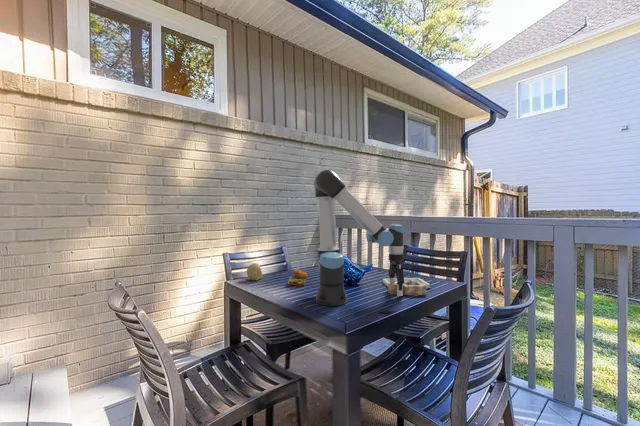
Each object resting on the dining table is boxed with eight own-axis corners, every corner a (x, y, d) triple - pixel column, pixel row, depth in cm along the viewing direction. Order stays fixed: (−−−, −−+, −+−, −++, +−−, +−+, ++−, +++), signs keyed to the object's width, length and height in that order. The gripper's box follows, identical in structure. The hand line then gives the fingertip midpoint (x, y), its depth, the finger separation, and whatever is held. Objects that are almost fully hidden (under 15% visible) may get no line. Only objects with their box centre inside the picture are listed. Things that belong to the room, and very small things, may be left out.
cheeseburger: (287, 282, 198) (291, 266, 198) (304, 286, 199) (308, 270, 200) (287, 286, 188) (291, 269, 188) (305, 290, 189) (309, 273, 190)
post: (409, 294, 172) (409, 281, 172) (405, 291, 177) (405, 279, 177) (418, 294, 172) (418, 281, 172) (414, 291, 177) (414, 278, 177)
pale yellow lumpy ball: (262, 286, 204) (267, 272, 212) (257, 274, 196) (262, 260, 204) (247, 284, 207) (253, 271, 214) (242, 273, 199) (248, 259, 206)
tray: (390, 289, 181) (390, 285, 181) (382, 282, 198) (382, 278, 198) (430, 289, 183) (430, 284, 183) (419, 282, 200) (419, 278, 200)
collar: (392, 296, 168) (392, 286, 168) (386, 290, 179) (386, 281, 179) (426, 295, 170) (426, 286, 169) (418, 290, 181) (418, 281, 180)
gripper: (411, 256, 161) (410, 299, 162) (395, 250, 186) (395, 287, 187) (396, 257, 161) (396, 299, 161) (382, 250, 186) (382, 287, 186)
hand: (395, 293), depth 174 cm, fingers open, 13 cm apart
